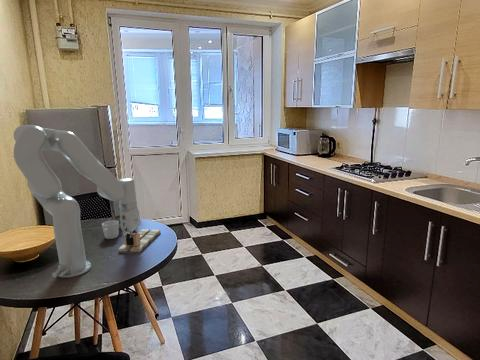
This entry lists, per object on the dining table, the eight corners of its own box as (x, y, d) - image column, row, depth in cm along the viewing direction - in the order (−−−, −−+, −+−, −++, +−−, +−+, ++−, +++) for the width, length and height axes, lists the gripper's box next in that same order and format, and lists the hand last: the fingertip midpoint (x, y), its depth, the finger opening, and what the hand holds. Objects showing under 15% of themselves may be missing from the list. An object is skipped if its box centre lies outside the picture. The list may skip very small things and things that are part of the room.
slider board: (139, 253, 142) (138, 249, 141) (118, 252, 143) (118, 248, 143) (160, 233, 165) (160, 229, 164) (142, 232, 166) (142, 228, 166)
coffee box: (128, 226, 176) (125, 198, 172) (116, 229, 173) (112, 201, 169) (124, 221, 183) (120, 195, 180) (112, 224, 180) (109, 197, 176)
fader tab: (137, 248, 144) (135, 236, 143) (125, 248, 145) (123, 235, 144) (140, 245, 147) (139, 233, 146) (128, 244, 148) (127, 232, 147)
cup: (114, 242, 155) (112, 227, 153) (98, 243, 155) (96, 227, 153) (122, 234, 165) (120, 219, 163) (107, 234, 165) (105, 220, 163)
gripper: (126, 211, 133) (131, 251, 137) (144, 200, 149) (148, 236, 153) (110, 211, 134) (115, 250, 139) (129, 200, 150) (133, 235, 154)
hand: (132, 242), depth 146 cm, fingers closed on fader tab, 3 cm apart
